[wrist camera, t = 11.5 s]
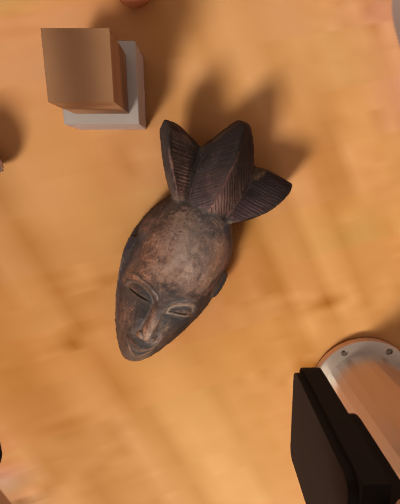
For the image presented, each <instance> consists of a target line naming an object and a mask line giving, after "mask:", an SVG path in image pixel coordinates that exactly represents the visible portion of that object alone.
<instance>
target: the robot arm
mask: <svg viewBox="0 0 400 504" xmlns="http://www.w3.org/2000/svg"><path fill="white" fill-rule="evenodd" d="M291 457H292V461H293V464H294V468H295V471H296V474H297V477H298V480H299V483H300V486H301V490H302V493H303V496H304V499H305V502H306V504H400V351H399V350H398V349H397V348H396V347H395V346H393V345H391V344H390V343H388V342H386V341H383V340H380V339H375V338H357V339H352V340H348V341H346V342H343V343H341V344H339V345H337V346H336V347H334V348H332V349H331V350H330V351H329V352H328V353H326V354H325V355H324V356H323V358H322V359H321V360H320V361H319V363H318V365H317V366H316V367H315V368H301V369H300V373H294V380H293V402H292V424H291ZM1 458H2V450H1V445H0V462H1Z"/></svg>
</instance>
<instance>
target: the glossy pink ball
mask: <svg viewBox="0 0 400 504" xmlns="http://www.w3.org/2000/svg"><path fill="white" fill-rule="evenodd" d="M120 1H121V2H122V3H123V4H124V5H126V6H128V7H132V8H138V7H142V6H144V5H145V4H146V3H148V2H149V0H120Z"/></svg>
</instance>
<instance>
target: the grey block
mask: <svg viewBox="0 0 400 504" xmlns="http://www.w3.org/2000/svg"><path fill="white" fill-rule="evenodd" d="M118 43H119V44H120V46H121V48H122V49H123V51H124V52H125V54H126V68H127V87H128V107H129V114H74V113H72V112H70V111H67V110H65V109H63V114H64V124H65V125H68V126H71V127H74V128H77V129H80V130H139V129H146V110H145V86H144V62H143V56H142V54H141V52H140V50H139V48H138V46H137V44H136V42H135V41H118Z"/></svg>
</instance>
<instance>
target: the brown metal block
mask: <svg viewBox="0 0 400 504" xmlns="http://www.w3.org/2000/svg"><path fill="white" fill-rule="evenodd" d="M41 37H42V46H43V56H44V66H45V76H46V85H47V95H48V102H49V103H52V104H54V105H56V106H58V107H61V108H63V109H65V110H67V111H70V112H72V113H74V114H129V107H128V87H127V68H126V54H125V52H124V51H123V49H122V48H121V46H120V44H119V43H118V41H117V40H116V38H115V36H114V35H113V33H112V32H111V30H110V28H41Z"/></svg>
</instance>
